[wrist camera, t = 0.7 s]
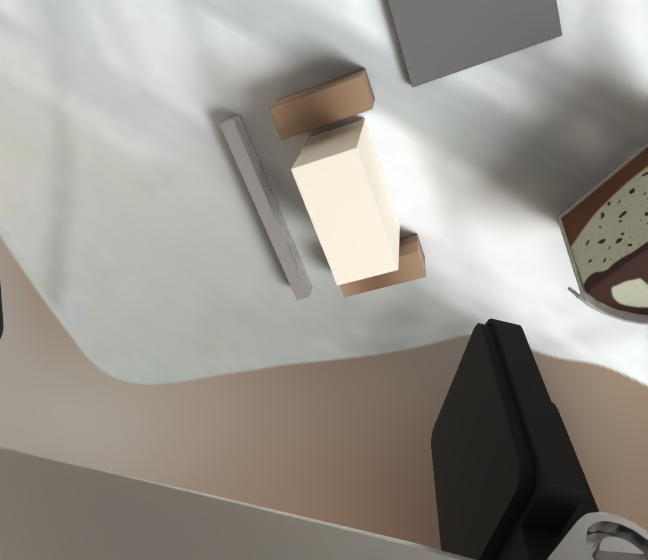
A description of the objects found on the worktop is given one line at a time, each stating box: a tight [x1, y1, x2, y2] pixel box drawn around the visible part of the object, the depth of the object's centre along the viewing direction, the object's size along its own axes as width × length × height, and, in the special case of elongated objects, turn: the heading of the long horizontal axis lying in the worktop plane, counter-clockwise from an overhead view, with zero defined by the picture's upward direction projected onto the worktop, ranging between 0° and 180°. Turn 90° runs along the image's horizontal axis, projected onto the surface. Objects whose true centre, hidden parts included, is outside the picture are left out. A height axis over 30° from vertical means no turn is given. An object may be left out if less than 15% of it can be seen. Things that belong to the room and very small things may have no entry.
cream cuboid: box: [291, 119, 400, 286], centre depth 37 cm, size 4×8×7 cm, turn 20°
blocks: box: [220, 68, 426, 300], centre depth 39 cm, size 10×14×3 cm
